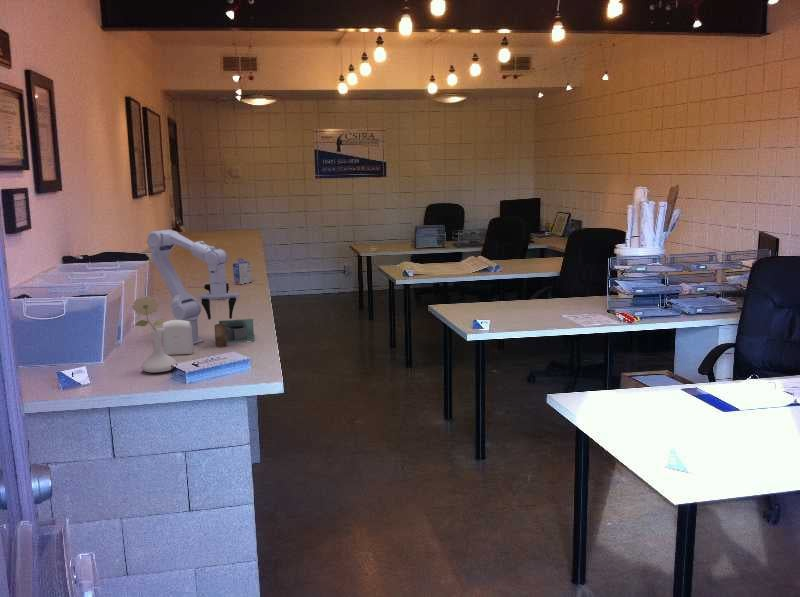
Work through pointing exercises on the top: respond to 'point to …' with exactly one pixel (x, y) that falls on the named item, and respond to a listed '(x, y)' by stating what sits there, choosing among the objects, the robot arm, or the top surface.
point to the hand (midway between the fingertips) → (220, 318)
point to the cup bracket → (239, 330)
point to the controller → (207, 286)
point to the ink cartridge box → (242, 272)
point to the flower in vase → (158, 358)
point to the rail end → (220, 335)
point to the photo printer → (177, 337)
